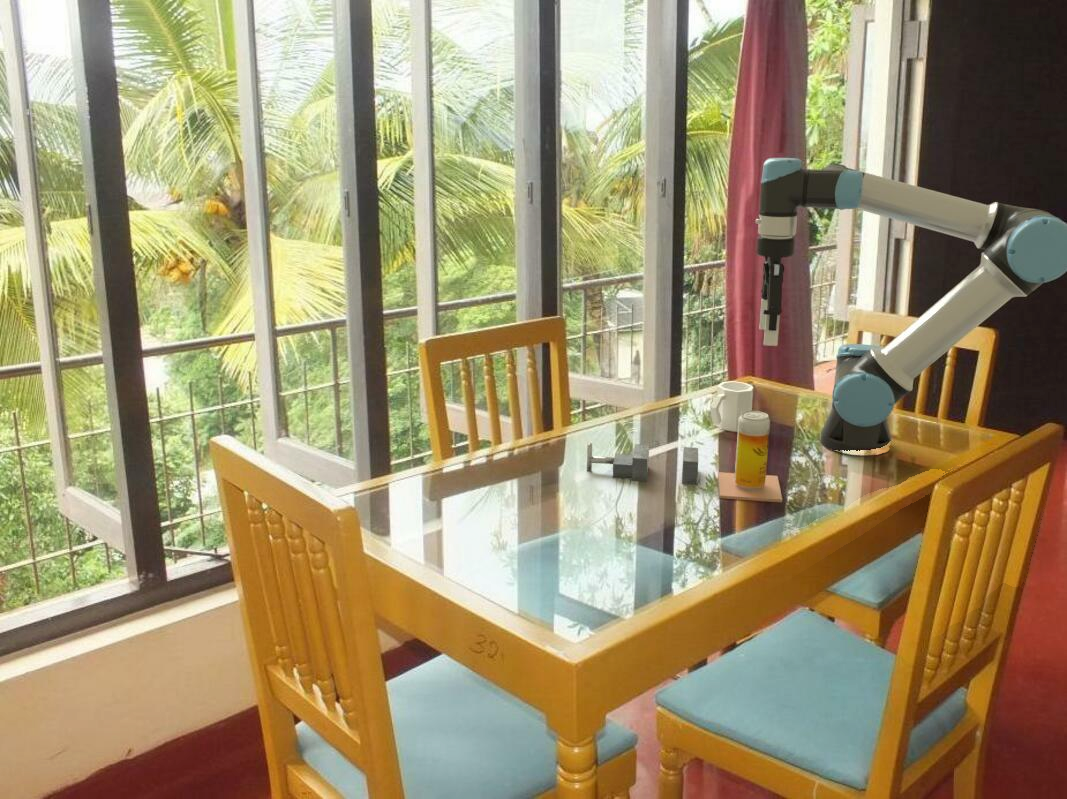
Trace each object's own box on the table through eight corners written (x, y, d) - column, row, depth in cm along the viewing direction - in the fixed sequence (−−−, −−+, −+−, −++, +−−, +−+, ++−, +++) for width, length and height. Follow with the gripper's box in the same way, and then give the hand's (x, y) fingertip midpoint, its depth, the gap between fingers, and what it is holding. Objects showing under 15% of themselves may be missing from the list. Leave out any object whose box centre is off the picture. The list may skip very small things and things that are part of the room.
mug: (729, 417, 231) (732, 379, 228) (758, 426, 225) (761, 387, 222) (697, 428, 224) (699, 388, 221) (726, 438, 218) (729, 397, 215)
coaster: (777, 478, 195) (777, 475, 195) (782, 502, 184) (782, 499, 184) (718, 474, 197) (718, 472, 197) (719, 498, 186) (719, 495, 186)
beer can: (765, 492, 187) (771, 420, 182) (734, 490, 188) (739, 419, 183) (764, 480, 193) (769, 411, 188) (733, 478, 194) (738, 409, 189)
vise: (696, 469, 199) (698, 443, 198) (696, 484, 192) (698, 457, 190) (588, 463, 203) (589, 437, 201) (584, 477, 195) (585, 450, 194)
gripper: (753, 227, 205) (746, 322, 212) (761, 245, 182) (753, 351, 188) (789, 228, 204) (781, 323, 211) (801, 246, 180) (791, 353, 187)
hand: (767, 337), depth 199 cm, fingers open, 13 cm apart
